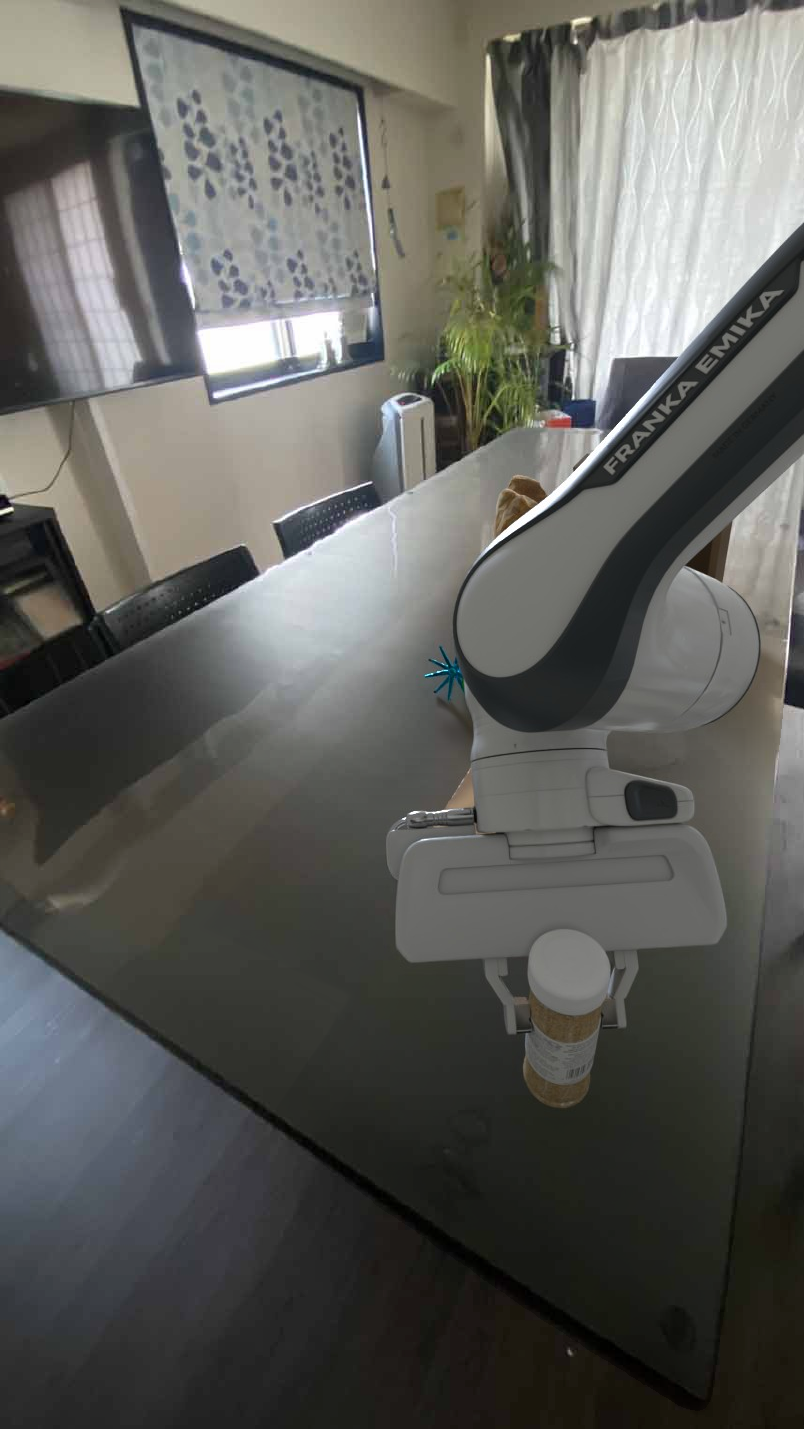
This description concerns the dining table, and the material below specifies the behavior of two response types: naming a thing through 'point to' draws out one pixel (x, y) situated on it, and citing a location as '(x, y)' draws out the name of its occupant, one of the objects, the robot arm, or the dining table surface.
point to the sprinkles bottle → (564, 1015)
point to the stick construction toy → (452, 673)
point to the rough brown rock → (516, 502)
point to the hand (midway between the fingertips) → (565, 1029)
